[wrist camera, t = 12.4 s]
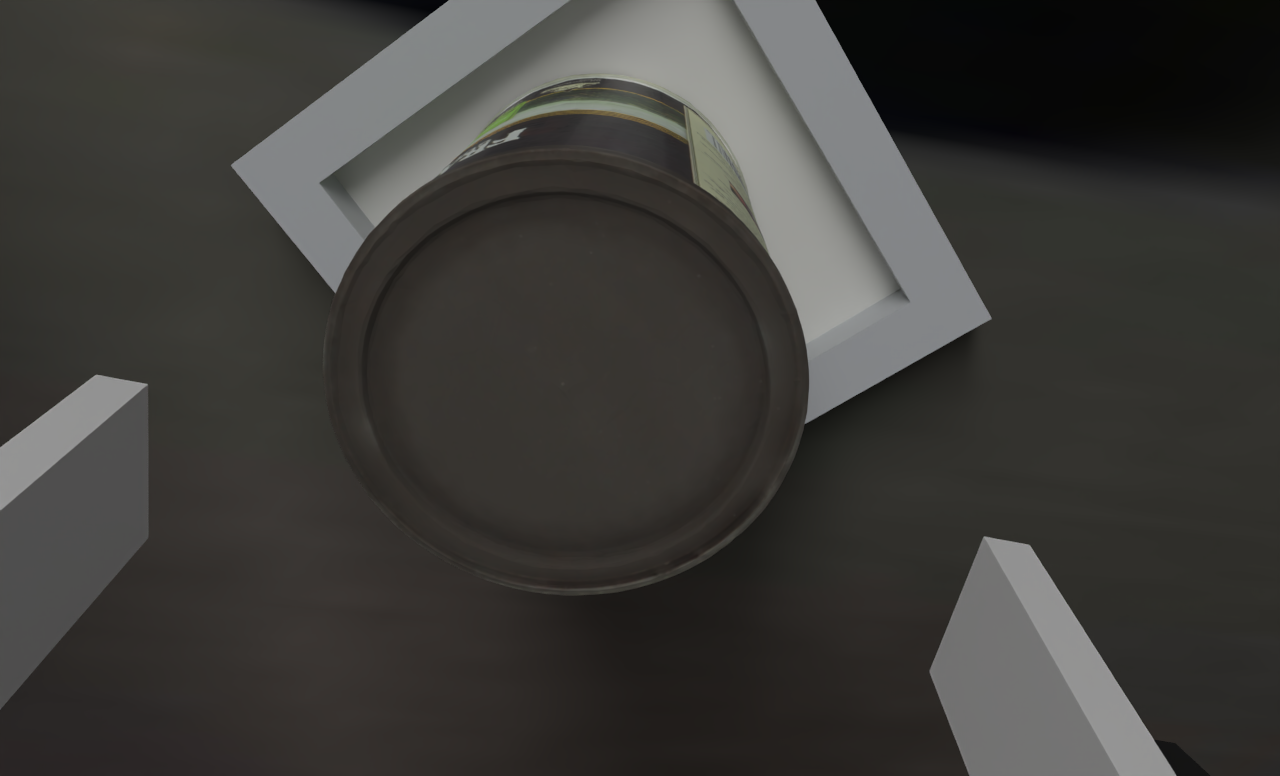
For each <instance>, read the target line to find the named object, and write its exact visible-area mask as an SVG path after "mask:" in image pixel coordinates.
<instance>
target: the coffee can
mask: <svg viewBox="0 0 1280 776" xmlns="http://www.w3.org/2000/svg"><path fill="white" fill-rule="evenodd" d="M323 378H324V386H325V394H326V401H327V407H328V411H329V416H330V421H331V424H332V427H333V430H334V432H335V435H336V438H337V440H338V443H339V445H340V448H341V450H342V452H343V454H344V457H345V459H346V460H347V462H348V464H349V465H350V467H351V469H352V471H353V473H354V475H355V476H356V478H357V479H358V481H359V482H360V484H361V485H362V487H363V488H364V490H365V491H366V493H367V494H368V496H369V497H370V498H371V499H372V500H373V502H374V503H375V504H376V505H377V506H378V508H379V509H380V510H381V511H382V512H383V513H384V514H385V515H386V516H387V517H388V519H389V520H391V521H392V522H393V523H394V524H395V525H396V526H397V527H398V528H399V529H400V530H401V531H402V532H404V533H405V534H406V535H407V536H409V537H410V538H411V539H413V540H414V541H415V542H417V543H418V544H419V545H420V546H422V547H423V548H425V549H426V550H428V551H429V552H430V553H432V554H433V555H435V556H437V557H438V558H440V559H441V560H443V561H445V562H447V563H449V564H451V565H453V566H455V567H457V568H459V569H461V570H463V571H465V572H467V573H470V574H472V575H475V576H477V577H479V578H482V579H484V580H487V581H490V582H494V583H497V584H500V585H504V586H507V587H511V588H514V589H519V590H524V591H529V592H536V593H544V594H554V595H570V596H576V595H598V594H606V593H616V592H621V591H626V590H631V589H635V588H639V587H643V586H646V585H649V584H653V583H656V582H659V581H662V580H664V579H667V578H670V577H672V576H675V575H677V574H679V573H682V572H684V571H686V570H688V569H690V568H692V567H694V566H695V565H697V564H699V563H701V562H703V561H704V560H706V559H708V558H709V557H711V556H712V555H714V554H715V553H717V552H718V551H719V550H721V549H722V548H724V547H725V546H727V545H728V544H729V543H730V542H732V541H733V540H734V538H735V537H737V536H739V535H740V534H741V533H742V532H743V531H744V530H745V529H746V528H747V527H748V526H749V525H750V524H751V523H752V522H753V521H754V520H755V519H756V518H757V517H758V516H759V515H760V514H761V513H762V511H763V510H764V509H765V508H766V506H767V505H768V503H769V502H770V501H771V499H772V498H773V496H774V495H775V493H776V492H777V490H778V489H779V487H780V485H781V483H782V482H783V480H784V478H785V476H786V474H787V472H788V470H789V468H790V466H791V464H792V462H793V460H794V457H795V455H796V452H797V449H798V447H799V443H800V440H801V437H802V433H803V430H804V425H805V420H806V415H807V409H808V396H809V366H808V357H807V348H806V343H805V338H804V333H803V329H802V326H801V323H800V320H799V316H798V313H797V309H796V307H795V304H794V302H793V300H792V297H791V295H790V292H789V290H788V288H787V286H786V284H785V282H784V280H783V278H782V276H781V274H780V272H779V270H778V268H777V267H776V265H775V264H774V262H773V261H772V259H771V257H770V255H769V252H768V249H767V247H766V244H765V241H764V238H763V236H762V234H761V231H760V229H759V226H758V224H757V221H756V218H755V215H754V212H753V209H752V206H751V202H750V199H749V195H748V190H747V186H746V183H745V180H744V177H743V174H742V171H741V169H740V166H739V164H738V161H737V159H736V157H735V156H734V154H733V152H732V150H731V149H730V147H729V145H728V143H727V142H726V141H725V139H724V138H723V137H722V135H721V134H720V133H719V131H718V130H717V129H716V128H715V126H714V125H713V124H712V123H711V122H710V121H709V120H708V119H707V118H706V117H705V116H704V115H703V114H702V113H701V112H700V111H699V110H697V109H696V108H695V107H694V106H693V105H692V104H691V103H690V102H688V101H687V100H685V99H683V98H682V97H680V96H678V95H676V94H674V93H672V92H671V91H669V90H667V89H665V88H663V87H661V86H658V85H656V84H653V83H650V82H648V81H645V80H641V79H637V78H633V77H629V76H624V75H615V74H581V75H571V76H567V77H563V78H558V79H555V80H553V81H550V82H547V83H544V84H542V85H540V86H537V87H535V88H533V89H531V90H529V91H528V92H526V93H524V94H522V95H521V96H519V97H517V98H516V99H515V100H513V101H512V102H510V103H509V104H508V105H506V106H505V107H504V108H503V109H501V110H500V111H499V112H498V113H497V114H496V115H495V116H494V117H493V118H492V119H491V120H490V121H489V122H488V124H487V125H486V126H485V127H484V128H483V129H482V131H481V132H480V133H479V134H478V136H477V137H476V138H475V140H474V141H473V142H472V143H471V144H470V145H469V146H468V147H467V148H466V149H465V150H464V151H463V152H462V153H461V154H460V155H458V156H457V157H456V158H455V159H454V160H453V161H452V162H451V163H450V164H449V165H448V166H447V167H445V168H444V169H443V170H442V171H441V172H440V173H439V174H438V175H437V176H436V177H435V178H434V179H433V180H431V181H429V182H428V183H426V184H425V185H423V186H421V187H420V188H418V189H417V190H416V191H414V192H413V193H412V194H410V195H409V196H408V197H406V198H405V199H404V200H402V201H401V202H400V203H399V204H398V205H397V206H396V207H395V208H394V209H393V210H392V211H390V212H389V214H388V215H387V216H386V217H385V218H384V219H383V220H382V221H381V222H380V223H379V224H378V225H377V226H376V227H375V228H374V229H373V230H372V231H371V232H370V233H369V235H368V236H367V238H366V239H365V240H364V242H363V243H362V245H361V246H360V248H359V249H358V251H357V252H356V254H355V256H354V257H353V259H352V261H351V262H350V264H349V266H348V267H347V269H346V271H345V273H344V275H343V278H342V280H341V282H340V285H339V287H338V289H337V291H336V293H335V295H334V297H333V301H332V305H331V309H330V312H329V316H328V321H327V327H326V333H325V340H324V349H323Z"/></svg>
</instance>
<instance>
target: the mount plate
mask: <svg viewBox="0 0 1280 776" xmlns="http://www.w3.org/2000/svg"><path fill="white" fill-rule="evenodd" d="M581 74H615V75H624V76H629V77H633V78H637V79H641V80H645V81H648V82H650V83H653V84H656V85H658V86H661V87H663V88H665V89H667V90H669V91H671V92H672V93H674V94H676V95H678V96H680V97H682V98H683V99H685V100H687V101H688V102H690V103H691V104H692V105H693V106H694V107H695V108H696V109H697V110H699V111H700V112H701V113H702V114H703V115H704V116H705V117H706V118H707V119H708V120H709V121H710V122H711V123H712V124H713V125H714V126H715V128H716V129H717V130H718V131H719V133H720V134H721V135H722V137H723V138H724V139H725V141H726V142H727V143H728V145H729V147H730V149H731V150H732V152H733V154H734V156H735V157H736V159H737V161H738V164H739V166H740V169H741V171H742V174H743V177H744V180H745V183H746V186H747V190H748V195H749V199H750V202H751V206H752V209H753V212H754V215H755V218H756V221H757V224H758V226H759V229H760V231H761V234H762V236H763V238H764V241H765V244H766V247H767V249H768V252H769V255H770V257H771V259H772V261H773V262H774V264H775V265H776V267H777V268H778V270H779V272H780V274H781V276H782V278H783V280H784V282H785V284H786V286H787V288H788V290H789V292H790V295H791V297H792V300H793V302H794V304H795V307H796V309H797V313H798V316H799V320H800V323H801V326H802V329H803V333H804V338H805V343H806V348H807V357H808V366H809V396H808V409H807V415H806V420H805V424H806V423H808V422H810V421H811V420H813V419H815V418H817V417H818V416H820V415H822V414H824V413H825V412H827V411H829V410H831V409H833V408H834V407H836V406H838V405H840V404H841V403H843V402H845V401H847V400H848V399H850V398H852V397H854V396H856V395H857V394H859V393H861V392H863V391H864V390H866V389H868V388H870V387H871V386H873V385H875V384H877V383H879V382H880V381H882V380H884V379H886V378H887V377H889V376H891V375H893V374H894V373H896V372H898V371H900V370H901V369H903V368H905V367H907V366H909V365H910V364H912V363H914V362H916V361H917V360H919V359H921V358H923V357H924V356H926V355H928V354H930V353H932V352H933V351H935V350H937V349H939V348H940V347H942V346H944V345H946V344H947V343H949V342H951V341H953V340H955V339H956V338H958V337H960V336H962V335H963V334H965V333H967V332H969V331H970V330H972V329H974V328H976V327H978V326H979V325H981V324H983V323H985V322H986V321H988V320H990V319H992V318H991V316H990V315H989V313H988V311H987V309H986V307H985V306H984V304H983V302H982V300H981V298H980V297H979V295H978V293H977V291H976V289H975V288H974V286H973V284H972V282H971V280H970V279H969V277H968V275H967V273H966V271H965V270H964V268H963V266H962V264H961V262H960V261H959V259H958V257H957V255H956V253H955V252H954V250H953V248H952V246H951V244H950V243H949V241H948V239H947V237H946V235H945V234H944V232H943V230H942V228H941V226H940V225H939V223H938V221H937V219H936V217H935V216H934V214H933V212H932V210H931V208H930V207H929V205H928V203H927V201H926V199H925V198H924V196H923V194H922V192H921V190H920V189H919V187H918V185H917V183H916V181H915V180H914V178H913V176H912V174H911V172H910V170H909V169H908V167H907V165H906V163H905V161H904V160H903V158H902V156H901V154H900V152H899V151H898V149H897V147H896V145H895V143H894V142H893V140H892V138H891V136H890V134H889V133H888V131H887V129H886V127H885V125H884V124H883V122H882V120H881V118H880V116H879V115H878V113H877V111H876V109H875V107H874V106H873V104H872V102H871V100H870V98H869V97H868V95H867V93H866V91H865V89H864V88H863V86H862V84H861V82H860V80H859V79H858V77H857V75H856V73H855V71H854V70H853V68H852V66H851V64H850V62H849V61H848V59H847V57H846V55H845V53H844V52H843V50H842V48H841V46H840V44H839V43H838V41H837V39H836V37H835V35H834V34H833V32H832V30H831V28H830V26H829V25H828V23H827V21H826V19H825V17H824V15H823V14H822V12H821V10H820V8H819V6H818V5H817V3H816V1H815V0H449V1H448V2H446V3H445V4H444V5H442V6H441V7H440V8H438V9H437V10H436V11H434V12H433V13H432V14H430V15H429V16H428V17H426V18H425V19H424V20H423V21H421V22H420V23H419V24H417V25H416V26H415V27H413V28H412V29H411V30H409V31H408V32H407V33H405V34H404V35H403V36H401V37H400V38H399V39H397V40H396V41H395V42H393V43H392V44H391V45H389V46H388V47H387V48H385V49H384V50H383V51H381V52H380V53H379V54H377V55H376V56H375V57H374V58H372V59H371V60H370V61H368V62H367V63H366V64H364V65H363V66H362V67H360V68H359V69H358V70H356V71H355V72H354V73H352V74H351V75H350V76H348V77H347V78H346V79H344V80H343V81H342V82H340V83H339V84H338V85H336V86H335V87H334V88H332V89H331V90H330V91H328V92H327V93H326V94H325V95H323V96H322V97H321V98H319V99H318V100H317V101H315V102H314V103H313V104H311V105H310V106H309V107H307V108H306V109H305V110H303V111H302V112H301V113H299V114H298V115H297V116H295V117H294V118H293V119H291V120H290V121H289V122H287V123H286V124H285V125H283V126H282V127H281V128H280V129H278V130H277V131H276V132H274V133H273V134H272V135H270V136H269V137H268V138H266V139H265V140H264V141H262V142H261V143H260V144H258V145H257V146H256V147H254V148H253V149H252V150H250V151H249V152H248V153H246V154H245V155H244V156H242V157H241V158H240V159H238V160H237V161H236V162H234V163H233V164H232V165H231V166H232V167H233V169H234V170H235V171H236V172H237V173H238V175H239V176H240V177H241V178H242V180H243V181H244V182H245V183H246V184H247V186H248V187H249V188H250V189H251V191H252V192H253V193H254V194H255V195H256V197H257V198H258V199H259V200H260V202H261V203H262V204H263V205H264V206H265V208H266V209H267V210H268V211H269V213H270V214H271V215H272V216H273V217H274V219H275V220H276V221H277V222H278V224H279V225H280V226H281V227H282V229H283V230H284V231H285V232H286V233H287V235H288V236H289V237H290V238H291V240H292V241H293V242H294V243H295V244H296V246H297V247H298V248H299V249H300V251H301V252H302V253H303V254H304V255H305V257H306V258H307V259H308V260H309V262H310V263H311V264H312V265H313V266H314V268H315V269H316V270H317V271H318V273H319V274H320V275H321V276H322V278H323V279H324V280H325V281H326V282H327V284H328V285H329V286H330V287H331V289H332V290H333V291H334V292H335V293H336V291H337V289H338V287H339V285H340V282H341V280H342V278H343V275H344V273H345V271H346V269H347V267H348V266H349V264H350V262H351V261H352V259H353V257H354V256H355V254H356V252H357V251H358V249H359V248H360V246H361V245H362V243H363V242H364V240H365V239H366V238H367V236H368V235H369V233H370V232H371V231H372V230H373V229H374V228H375V227H376V226H377V225H378V224H379V223H380V222H381V221H382V220H383V219H384V218H385V217H386V216H387V215H388V214H389V212H390V211H392V210H393V209H394V208H395V207H396V206H397V205H398V204H399V203H400V202H401V201H402V200H404V199H405V198H406V197H408V196H409V195H410V194H412V193H413V192H414V191H416V190H417V189H418V188H420V187H421V186H423V185H425V184H426V183H428V182H429V181H431V180H433V179H434V178H435V177H436V176H437V175H438V174H439V173H440V172H441V171H442V170H443V169H444V168H445V167H447V166H448V165H449V164H450V163H451V162H452V161H453V160H454V159H455V158H456V157H457V156H458V155H460V154H461V153H462V152H463V151H464V150H465V149H466V148H467V147H468V146H469V145H470V144H471V143H472V142H473V141H474V140H475V138H476V137H477V136H478V134H479V133H480V132H481V131H482V129H483V128H484V127H485V126H486V125H487V124H488V122H489V121H490V120H491V119H492V118H493V117H494V116H495V115H496V114H497V113H498V112H499V111H500V110H501V109H503V108H504V107H505V106H506V105H508V104H509V103H510V102H512V101H513V100H515V99H516V98H517V97H519V96H521V95H522V94H524V93H526V92H528V91H529V90H531V89H533V88H535V87H537V86H540V85H542V84H544V83H547V82H550V81H553V80H555V79H558V78H563V77H567V76H571V75H581Z"/></svg>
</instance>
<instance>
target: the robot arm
mask: <svg viewBox="0 0 1280 776" xmlns="http://www.w3.org/2000/svg"><path fill="white" fill-rule="evenodd" d="M147 539H148V384H144V383H138V382H133V381H127V380H122V379H116V378H111V377H105V376H100V375H95V376H94V377H92V378H91V379H90V380H89V381H87V382H86V383H85V384H83V385H82V386H81V387H79V388H78V389H77V390H75V391H74V392H73V393H71V394H70V395H69V396H67V397H66V398H65V399H63V400H62V401H61V402H60V403H58V404H57V405H56V406H54V407H53V408H52V409H50V410H49V411H48V412H46V413H45V414H44V415H42V416H41V417H40V418H38V419H37V420H36V421H34V422H33V423H32V424H31V425H29V426H28V427H27V428H25V429H24V430H23V431H21V432H20V433H19V434H17V435H16V436H15V437H13V438H12V439H11V440H9V441H8V442H7V443H5V444H4V445H3V446H1V447H0V709H1V708H2V707H3V706H4V705H5V703H6V702H7V701H8V700H9V699H10V698H11V696H12V695H13V694H14V693H15V692H16V691H17V690H18V688H19V687H20V686H21V685H22V684H23V683H24V681H25V680H26V679H27V678H28V677H29V676H30V674H31V673H32V672H33V671H34V670H35V669H36V667H37V666H38V665H39V664H40V663H41V662H42V661H43V659H44V658H45V657H46V656H47V655H48V654H49V652H50V651H51V650H52V649H53V648H54V647H55V645H56V644H57V643H58V642H59V641H60V640H61V638H62V637H63V636H64V635H65V634H66V633H67V632H68V630H69V629H70V628H71V627H72V626H73V625H74V623H75V622H76V621H77V620H78V619H79V618H80V616H81V615H82V614H83V613H84V612H85V611H86V609H87V608H88V607H89V606H90V605H91V604H92V602H93V601H94V600H95V599H96V598H97V597H98V596H99V594H100V593H101V592H102V591H103V590H104V589H105V587H106V586H107V585H108V584H109V583H110V582H111V580H112V579H113V578H114V577H115V576H116V575H117V573H118V572H119V571H120V570H121V569H122V568H123V567H124V565H125V564H126V563H127V562H128V561H129V560H130V558H131V557H132V556H133V555H134V554H135V553H136V551H137V550H138V549H139V548H140V547H141V546H142V544H143V543H144V542H145V541H146V540H147ZM929 672H930V675H931V677H932V680H933V682H934V685H935V687H936V690H937V693H938V695H939V698H940V700H941V703H942V706H943V708H944V711H945V713H946V716H947V719H948V721H949V724H950V726H951V729H952V732H953V734H954V737H955V739H956V742H957V745H958V747H959V750H960V752H961V755H962V757H963V760H964V763H965V765H966V768H967V770H968V773H969V776H1210V775H1209V774H1208V773H1207V772H1206V771H1205V770H1204V769H1203V768H1201V767H1200V766H1199V765H1198V764H1197V763H1196V762H1195V761H1194V760H1193V759H1192V758H1191V757H1190V756H1188V755H1187V754H1186V753H1185V752H1184V751H1183V750H1182V749H1181V748H1180V747H1179V746H1178V745H1177V744H1175V743H1171V742H1165V741H1159V740H1154V739H1153V738H1152V736H1151V735H1150V733H1149V732H1148V730H1147V728H1146V727H1145V725H1144V724H1143V722H1142V721H1141V719H1140V717H1139V716H1138V714H1137V713H1136V711H1135V710H1134V708H1133V707H1132V705H1131V703H1130V702H1129V700H1128V699H1127V697H1126V696H1125V694H1124V692H1123V691H1122V689H1121V688H1120V686H1119V685H1118V683H1117V681H1116V680H1115V678H1114V677H1113V675H1112V674H1111V672H1110V670H1109V669H1108V667H1107V666H1106V664H1105V663H1104V661H1103V659H1102V658H1101V656H1100V655H1099V653H1098V652H1097V650H1096V648H1095V647H1094V645H1093V644H1092V642H1091V641H1090V639H1089V637H1088V636H1087V634H1086V633H1085V631H1084V630H1083V628H1082V626H1081V625H1080V623H1079V622H1078V620H1077V619H1076V617H1075V616H1074V614H1073V612H1072V611H1071V609H1070V608H1069V606H1068V605H1067V603H1066V601H1065V600H1064V598H1063V597H1062V595H1061V594H1060V592H1059V590H1058V589H1057V587H1056V586H1055V584H1054V583H1053V581H1052V579H1051V578H1050V576H1049V575H1048V573H1047V572H1046V570H1045V568H1044V567H1043V565H1042V564H1041V562H1040V561H1039V559H1038V557H1037V556H1036V554H1035V553H1034V551H1033V550H1032V548H1031V546H1030V545H1027V544H1021V543H1016V542H1010V541H1005V540H1000V539H994V538H989V537H983V540H982V542H981V545H980V547H979V550H978V552H977V555H976V557H975V560H974V562H973V565H972V567H971V570H970V572H969V575H968V577H967V580H966V582H965V584H964V587H963V589H962V592H961V594H960V597H959V599H958V602H957V604H956V607H955V609H954V612H953V614H952V617H951V619H950V622H949V624H948V627H947V629H946V632H945V634H944V637H943V639H942V642H941V644H940V647H939V649H938V652H937V654H936V656H935V659H934V661H933V664H932V666H931V669H930V671H929Z"/></svg>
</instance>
